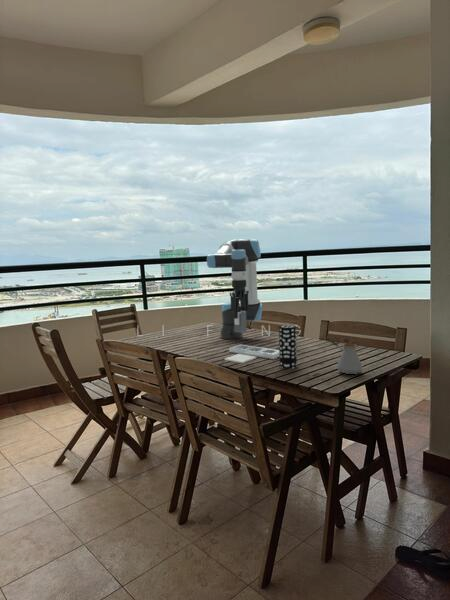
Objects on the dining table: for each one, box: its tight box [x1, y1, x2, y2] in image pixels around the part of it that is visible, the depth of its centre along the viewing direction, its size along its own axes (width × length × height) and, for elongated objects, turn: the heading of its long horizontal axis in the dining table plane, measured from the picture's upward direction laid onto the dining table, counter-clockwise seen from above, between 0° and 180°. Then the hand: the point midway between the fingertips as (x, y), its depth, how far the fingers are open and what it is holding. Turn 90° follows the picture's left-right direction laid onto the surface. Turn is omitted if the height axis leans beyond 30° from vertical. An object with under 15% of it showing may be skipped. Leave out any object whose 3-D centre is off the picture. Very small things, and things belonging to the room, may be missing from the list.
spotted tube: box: [278, 324, 298, 369], centre depth 204 cm, size 8×8×20 cm
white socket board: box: [228, 343, 279, 360], centre depth 232 cm, size 30×10×2 cm, turn 50°
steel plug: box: [234, 312, 248, 333], centre depth 220 cm, size 5×5×10 cm
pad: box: [224, 353, 257, 364], centre depth 222 cm, size 12×12×1 cm
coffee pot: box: [323, 335, 364, 374], centre depth 195 cm, size 21×12×15 cm, turn 33°
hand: (240, 323), depth 220 cm, fingers closed on steel plug, 5 cm apart
